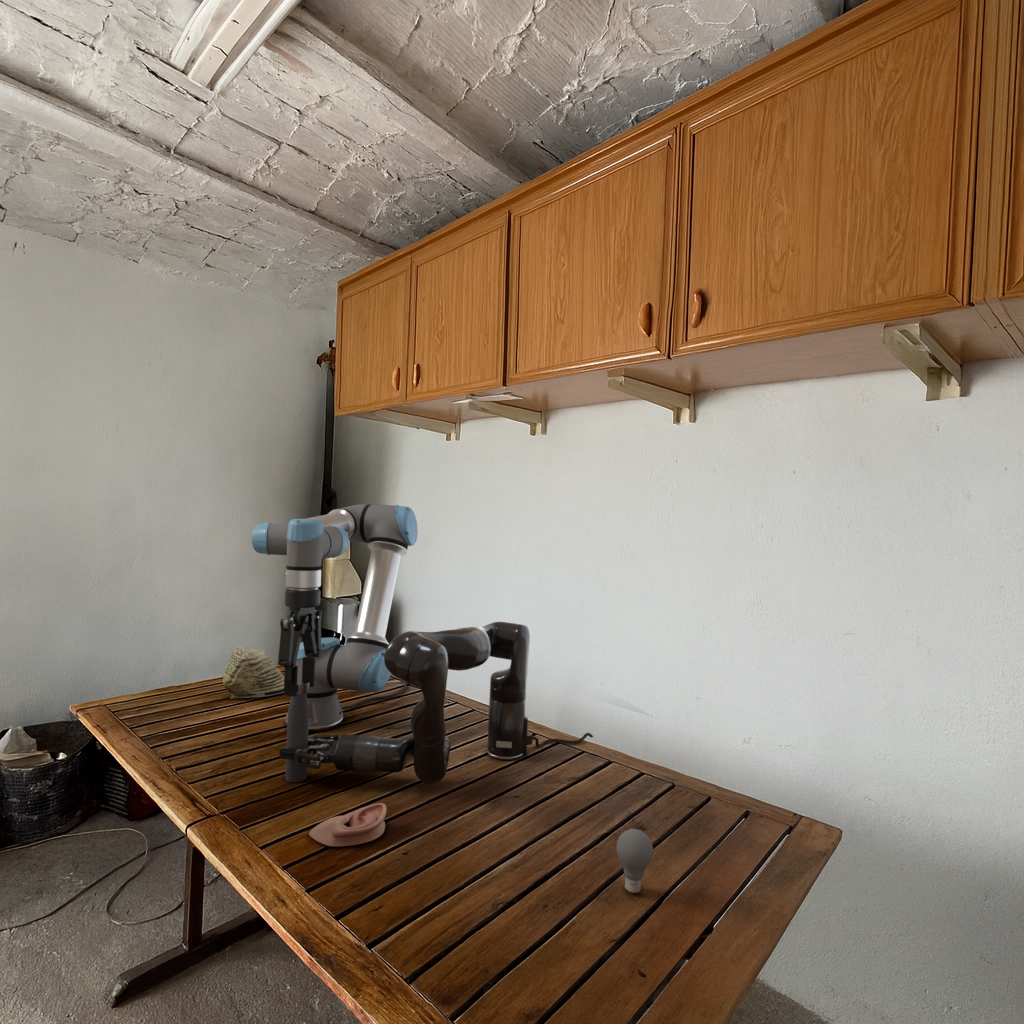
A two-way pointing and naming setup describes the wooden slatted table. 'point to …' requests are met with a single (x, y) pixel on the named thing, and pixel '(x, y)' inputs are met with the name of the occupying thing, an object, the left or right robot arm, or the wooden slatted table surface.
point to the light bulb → (634, 857)
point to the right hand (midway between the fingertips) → (285, 748)
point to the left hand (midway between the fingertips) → (299, 690)
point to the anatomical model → (352, 827)
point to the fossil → (252, 674)
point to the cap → (303, 686)
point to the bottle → (297, 735)
